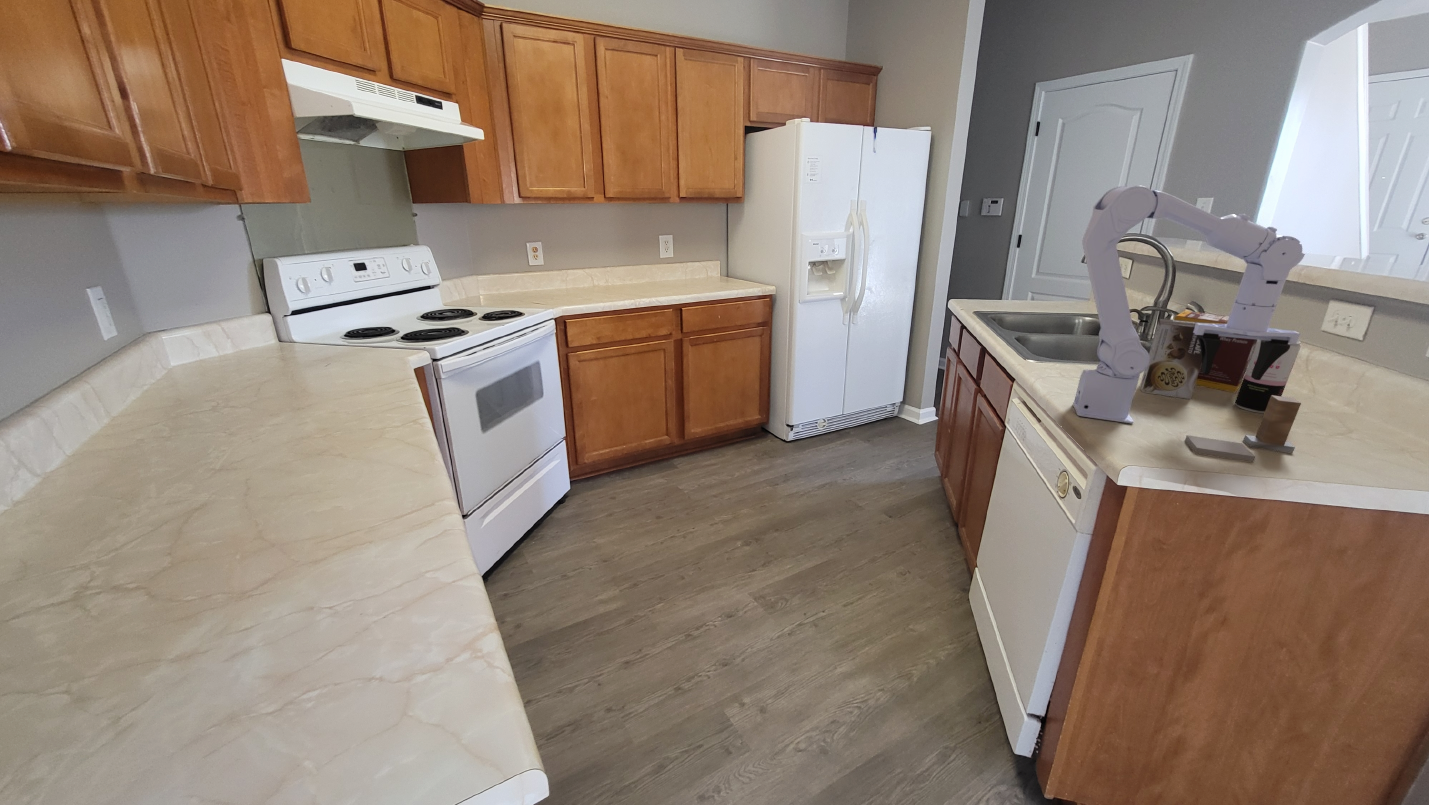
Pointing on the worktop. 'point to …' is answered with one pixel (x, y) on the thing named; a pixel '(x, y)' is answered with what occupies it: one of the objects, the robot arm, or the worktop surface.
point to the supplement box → (1223, 355)
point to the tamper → (1275, 425)
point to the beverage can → (1266, 380)
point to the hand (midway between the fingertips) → (1229, 375)
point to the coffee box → (1173, 360)
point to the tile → (1219, 448)
